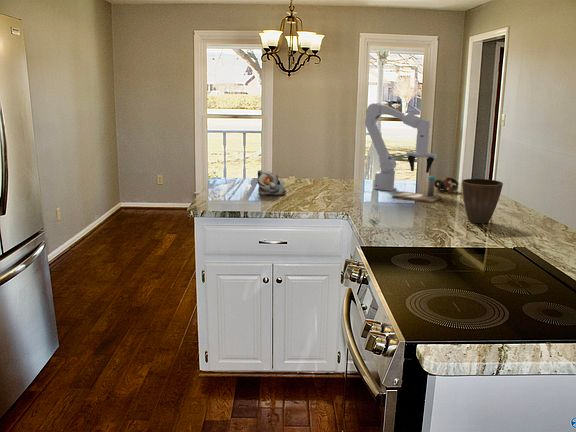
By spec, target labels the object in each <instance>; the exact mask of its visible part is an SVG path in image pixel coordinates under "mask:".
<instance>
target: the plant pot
mask: <svg viewBox="0 0 576 432" xmlns="http://www.w3.org/2000/svg"><path fill="white" fill-rule="evenodd" d="M503 185H504V183H503V182H502V181H500V180H495V179H494V180H493V179H487V178H466V179H465V178H464V179H462V180H461V186H462V197H463V198H462V199H463V203H464V208H465V209H464V210H465V213H466V217H467V219H468V222H469V221H470V223H471V222H473V223H472V224H475V223H487V224H489V223H488V222H490V221H491V219H492V217H493V215H494V212H495V210H496V209H497V206H498V202H499V200H500V196H501V193H502V189H503Z"/></svg>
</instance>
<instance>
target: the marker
mask: <svg viewBox="0 0 576 432" xmlns="http://www.w3.org/2000/svg"><path fill="white" fill-rule="evenodd" d="M435 180H436V176H435V175H428V185H427V195H428V196H434V195H435V185H434V184H435Z"/></svg>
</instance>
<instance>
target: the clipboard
mask: <svg viewBox="0 0 576 432" xmlns="http://www.w3.org/2000/svg"><path fill="white" fill-rule="evenodd" d="M427 194H428V193H427ZM427 194H425V193H419V192H418V193H417V192H408V191H400V192H398V193H396V194H394V195H392V199H397V200H406V201H413V202H422V203H429V204H433V203H434V202H437V201H438V200H440V199H441V198H442V196H441V195H435V194H434V196H428V195H427Z"/></svg>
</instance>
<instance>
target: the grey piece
mask: <svg viewBox="0 0 576 432" xmlns="http://www.w3.org/2000/svg"><path fill="white" fill-rule="evenodd" d="M257 185H258V188H257V189H258V190H257V192H258V194H260V195H261V196H263V195H264V196H265V195H273V196H275V195H277V196H284V195H285V194H286V193H287V189H285V186H284V184H283V182H282V181H281V180H280V179H279V175H278V174H276V175H275V174H274V173H273V172H271V171H269V170H268V171H266V170H265V171H262V170H257Z"/></svg>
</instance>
